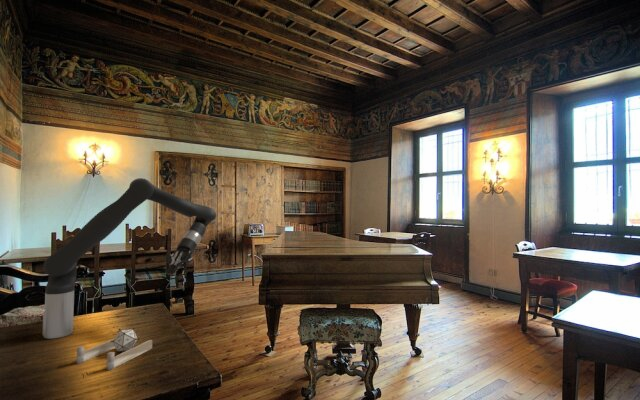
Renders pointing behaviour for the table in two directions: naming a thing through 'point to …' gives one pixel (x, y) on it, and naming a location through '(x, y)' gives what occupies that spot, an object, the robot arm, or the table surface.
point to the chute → (112, 353)
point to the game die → (125, 340)
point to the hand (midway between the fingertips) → (169, 274)
